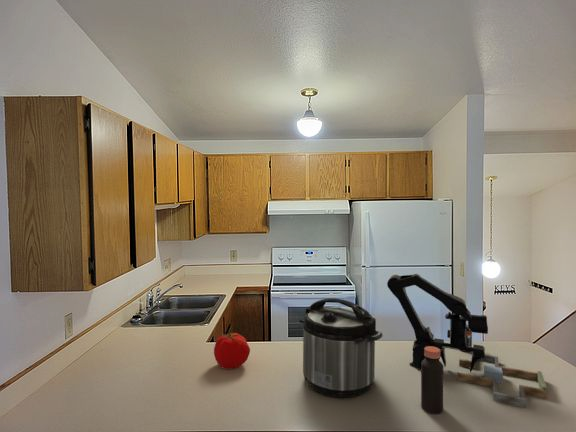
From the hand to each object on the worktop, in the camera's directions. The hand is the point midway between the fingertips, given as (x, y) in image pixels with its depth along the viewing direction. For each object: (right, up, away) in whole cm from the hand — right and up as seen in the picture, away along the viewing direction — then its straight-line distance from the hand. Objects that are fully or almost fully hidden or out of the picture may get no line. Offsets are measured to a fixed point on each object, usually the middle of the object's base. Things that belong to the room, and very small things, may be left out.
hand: (457, 368), depth 142 cm
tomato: (-91, -2, +8) cm, 92 cm away
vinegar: (-20, -3, -25) cm, 32 cm away
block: (+11, -2, -6) cm, 12 cm away
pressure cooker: (-48, -2, -5) cm, 48 cm away
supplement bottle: (+13, 0, +21) cm, 25 cm away
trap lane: (+12, -1, -7) cm, 14 cm away
